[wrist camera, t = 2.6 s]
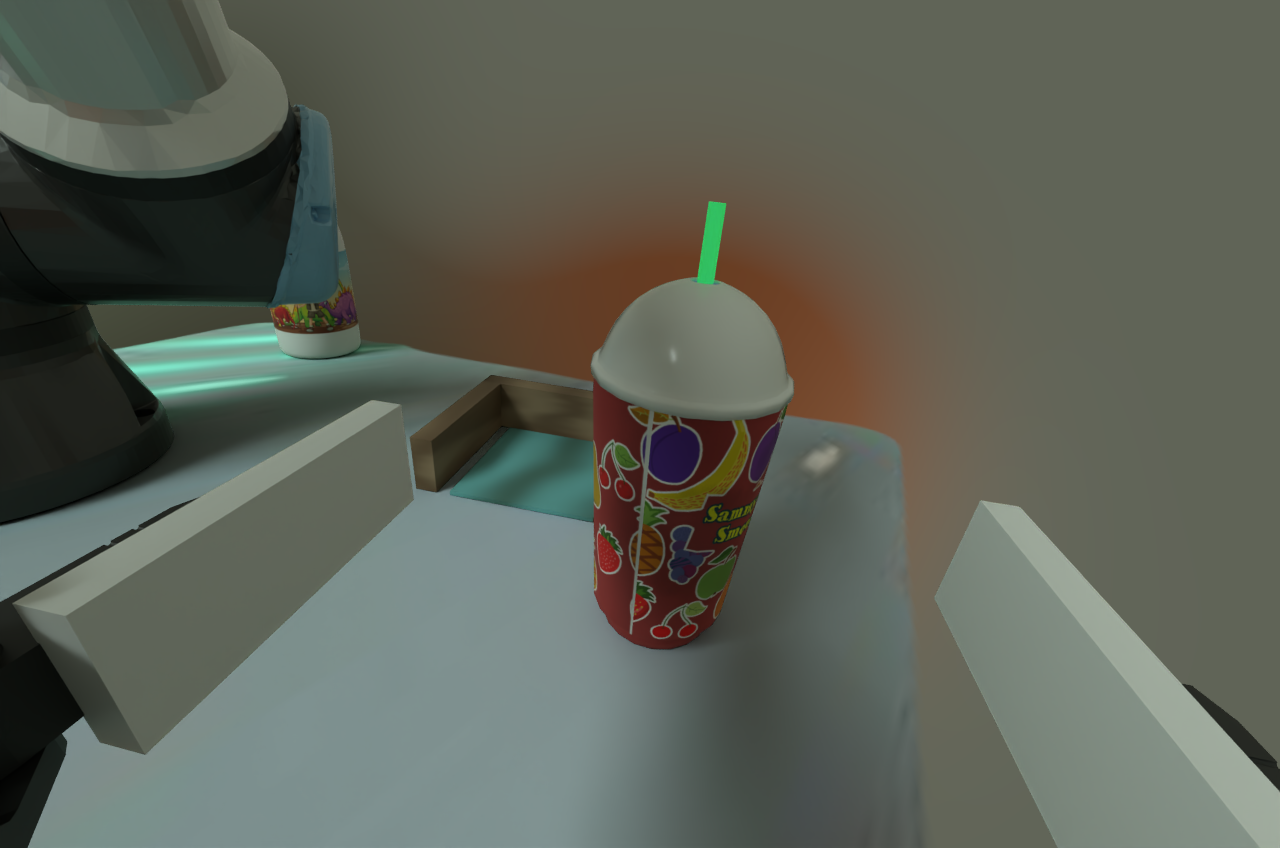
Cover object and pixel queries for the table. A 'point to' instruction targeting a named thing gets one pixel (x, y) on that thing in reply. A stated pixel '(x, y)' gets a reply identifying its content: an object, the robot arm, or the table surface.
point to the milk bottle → (321, 321)
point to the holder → (514, 447)
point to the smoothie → (681, 448)
